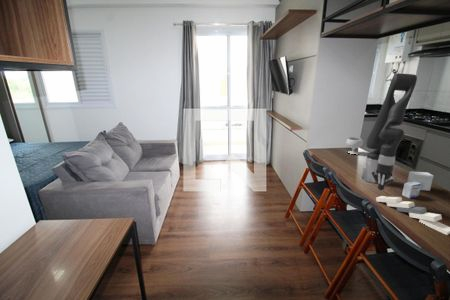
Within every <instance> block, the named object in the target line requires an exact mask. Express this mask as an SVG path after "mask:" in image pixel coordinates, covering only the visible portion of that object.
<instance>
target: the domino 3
mask: <svg viewBox="0 0 450 300" xmlns="http://www.w3.org/2000/svg"><path fill="white" fill-rule="evenodd" d="M427 210H428V209H427V208H426V207H422V206H416V205H415V206H413V207H411V208H402V207H396V211H397V212H402V213H408V214H409V213H414V214H423V213H426V212H428V211H427Z"/></svg>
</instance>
